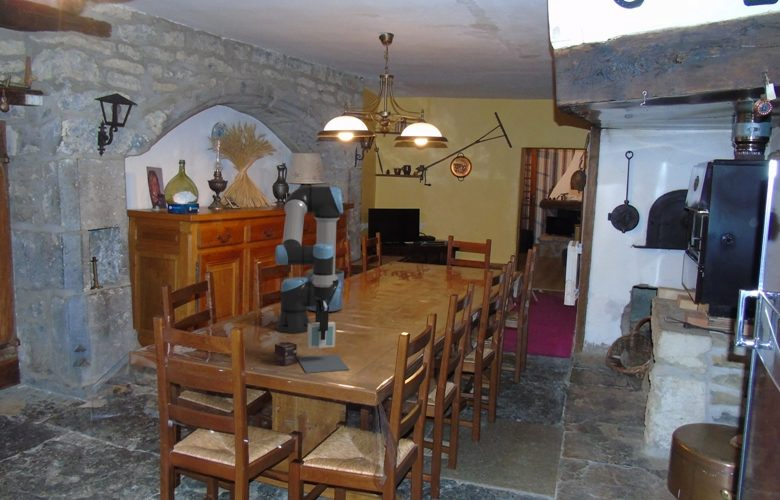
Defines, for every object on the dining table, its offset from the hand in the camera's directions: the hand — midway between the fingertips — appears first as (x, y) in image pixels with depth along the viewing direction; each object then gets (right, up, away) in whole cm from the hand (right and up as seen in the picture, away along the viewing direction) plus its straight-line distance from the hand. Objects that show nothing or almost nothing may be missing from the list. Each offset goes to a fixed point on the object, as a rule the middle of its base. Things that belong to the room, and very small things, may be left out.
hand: (321, 345), depth 235 cm
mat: (+1, -7, -2) cm, 7 cm away
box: (-13, -6, -2) cm, 15 cm away
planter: (-8, +5, +85) cm, 85 cm away
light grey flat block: (0, 0, 0) cm, 0 cm away
